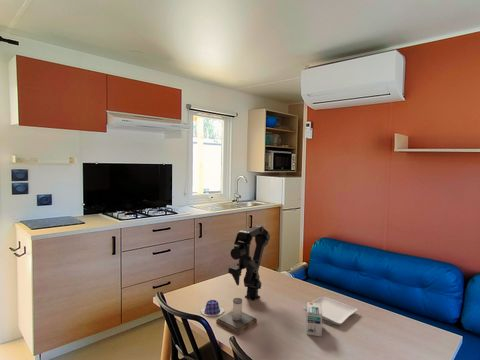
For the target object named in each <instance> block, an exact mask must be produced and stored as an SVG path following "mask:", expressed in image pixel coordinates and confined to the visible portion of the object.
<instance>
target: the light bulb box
mask: <svg viewBox="0 0 480 360" xmlns="http://www.w3.org/2000/svg"><path fill="white" fill-rule="evenodd" d="M311 302H312V301H311ZM311 302H310V301H307V304H306V305H307V311H306V335H307V334H308V336H309V335H310V336H316V337H322V335H323V334H322V333H323V332H322V329H323V319H322V310H321V304H318V303H311Z"/></svg>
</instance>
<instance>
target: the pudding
mask: <svg viewBox="0 0 480 360" xmlns="http://www.w3.org/2000/svg"><path fill="white" fill-rule="evenodd" d="M204 309H205V310H204ZM203 311H204V312H205V313H206V314H204V312H203ZM224 312H225V309H224V308H223V306H221V305H219V302H218V300H215V299H210V300H207V302H206V305H204V306H202V308H201V309H200V313H201V314H202V315H204V316H206V317H207V316H208V317H217V316H220V315H222V314H223V313H224Z"/></svg>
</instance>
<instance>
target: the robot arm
mask: <svg viewBox="0 0 480 360" xmlns="http://www.w3.org/2000/svg"><path fill="white" fill-rule="evenodd" d="M253 238H254V242H255V247H254V253H253V257H252V256H251V255H250V252H251V251H250V248H251V246H250V245H252V241H253ZM270 239H271V235H270V232H269V231H268V230H266V229H265V227H264V226H262V225H257V224H256V225H254V226H253V227H251V228H249V229H247V230H246V229H243V230H239V231H238V232H237V233H236V236H235V240H234V246H233V248H232V249H231V250H230V257H231V258H232V259H233V260H238V262H237V263H236V266H235V265H233V266H230V267H229V268H228V269H227V270H228V271H227V272H228V274H230V275H231V277H232V278H233V280H234V282H235V285H236V286H239V285H240V277H241V276H242V271H243V270H246V271H245V275H244V277H243V285H244V287H246V295H244V297H245V298H246V299H248V300H251V301H256V300H257V299H259V298H261V295H259V290H260V289H262V281H261V280H260V274H259V269H260V267H261V266H260V265H261V261H262V257H263V253H264V248H265V247H266V246H268V244H269V242H270Z"/></svg>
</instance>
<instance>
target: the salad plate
mask: <svg viewBox="0 0 480 360" xmlns="http://www.w3.org/2000/svg"><path fill="white" fill-rule="evenodd" d="M311 303H318V304H321V310H322V320H324V319H325V320H324V321H327V322H329V323H331V322H332V323H331V324H334V325H337V326H340V325H342V324H343V323H344V322H346V320H347V319H348V318H350V317H351V316H352V315H353V314H355V313H357V312H358V310H359V309H358V308H357V307H355V306H351V305H349V304H346V303H343V302H341V301H339V300H336V299H333V298H329V297H326V296H324V295H322V296H320V297H318V298H316V299H314V300H313V301H311ZM302 309H303V310H304V311H305V312H307V304H306V305H304V306H303V307H302Z"/></svg>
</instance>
